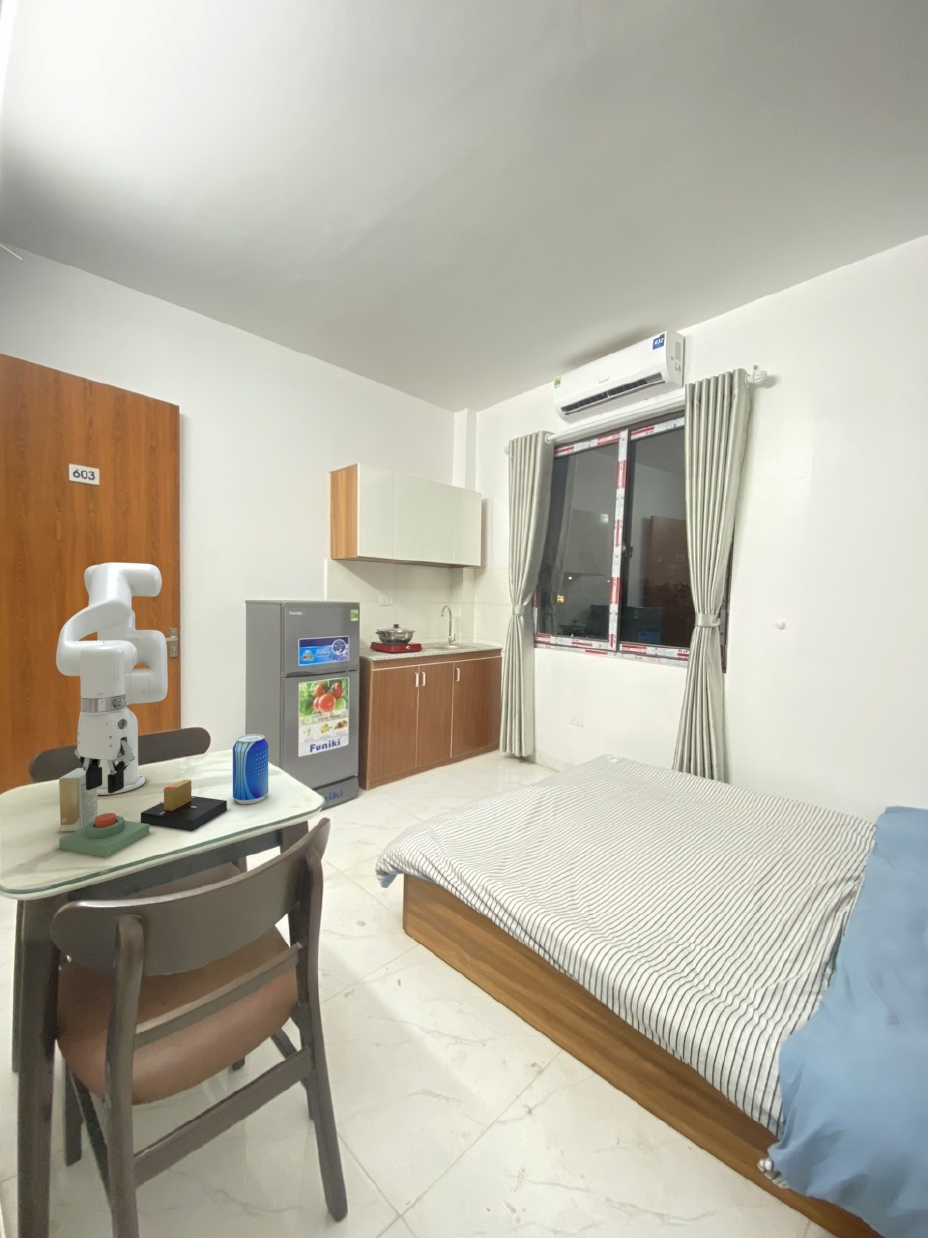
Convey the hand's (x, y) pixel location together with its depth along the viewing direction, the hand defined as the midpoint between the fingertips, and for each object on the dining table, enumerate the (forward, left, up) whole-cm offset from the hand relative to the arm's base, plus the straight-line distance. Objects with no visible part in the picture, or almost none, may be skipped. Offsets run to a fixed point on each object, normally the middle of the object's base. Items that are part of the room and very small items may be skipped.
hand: (105, 788), depth 104 cm
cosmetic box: (-12, +4, -12) cm, 17 cm away
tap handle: (+5, +14, -9) cm, 17 cm away
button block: (0, 0, -11) cm, 11 cm away
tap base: (+7, +14, -11) cm, 19 cm away
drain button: (0, 0, -8) cm, 8 cm away
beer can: (+15, +27, -12) cm, 33 cm away
